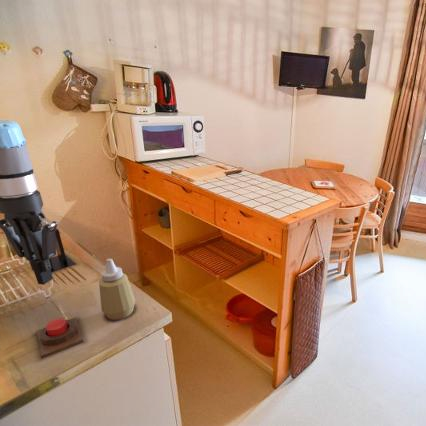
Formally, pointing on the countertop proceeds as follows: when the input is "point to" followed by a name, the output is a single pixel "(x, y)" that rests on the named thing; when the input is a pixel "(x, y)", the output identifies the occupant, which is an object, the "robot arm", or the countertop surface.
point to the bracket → (60, 256)
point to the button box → (59, 339)
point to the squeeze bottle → (115, 292)
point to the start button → (56, 327)
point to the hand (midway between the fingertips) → (45, 281)
